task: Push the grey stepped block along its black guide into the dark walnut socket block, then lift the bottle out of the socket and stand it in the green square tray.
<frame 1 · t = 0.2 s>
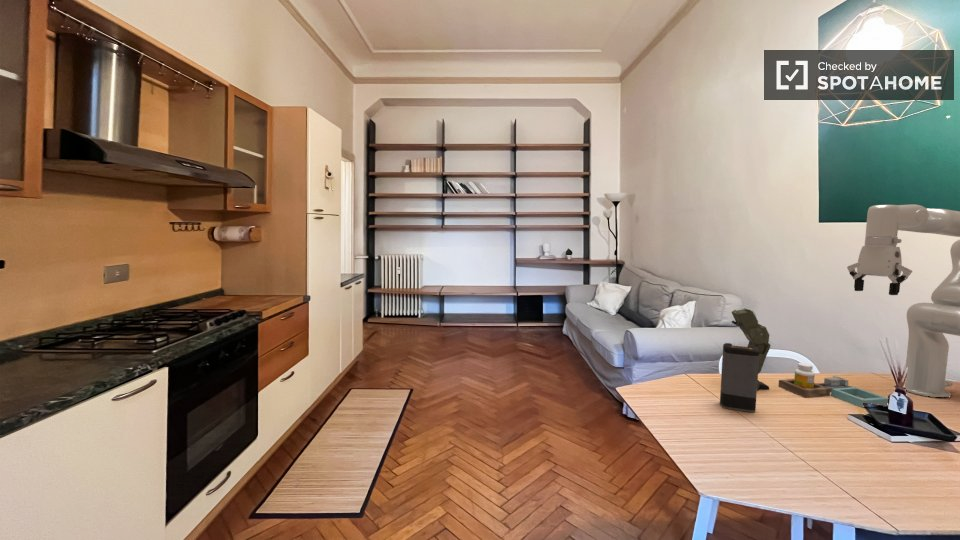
hand: (875, 292, 134), 36 cm above the table, tool pointing down, fingers open, 9 cm apart
mechanical leg: (747, 386, 145), on the table
supplement bottle: (803, 391, 141), resting in socket block
green square tray: (858, 400, 133), on the table
socket block: (803, 391, 141), on the table
electronic device: (737, 407, 127), on the table
grey stepped block: (834, 382, 143), point 2 cm above the table, slide at 0.0 cm
key guide: (830, 389, 143), on the table
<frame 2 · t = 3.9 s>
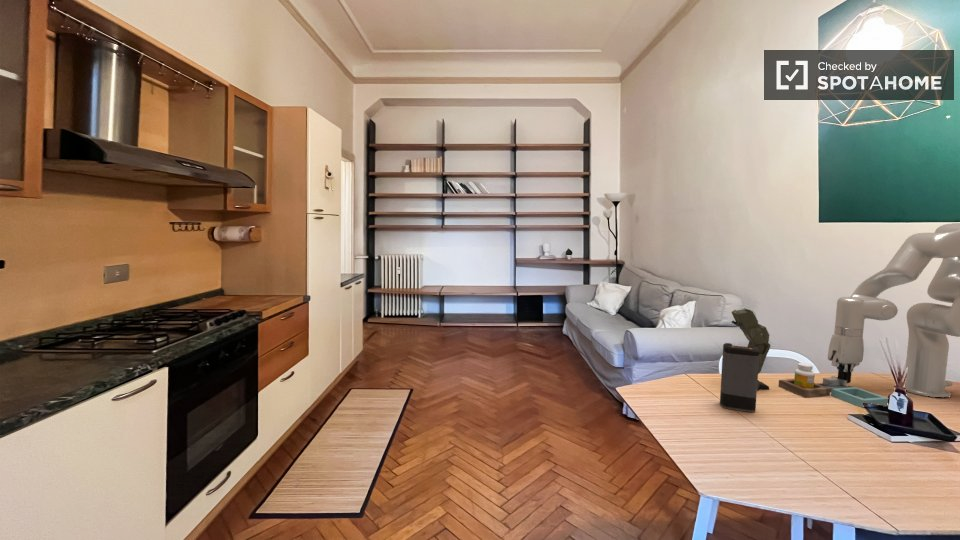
hand: (843, 381, 143), 2 cm above the table, tool pointing down, fingers closed
grey stepped block: (833, 382, 143), point 2 cm above the table, slide at 0.6 cm, touching gripper
everything else where it was.
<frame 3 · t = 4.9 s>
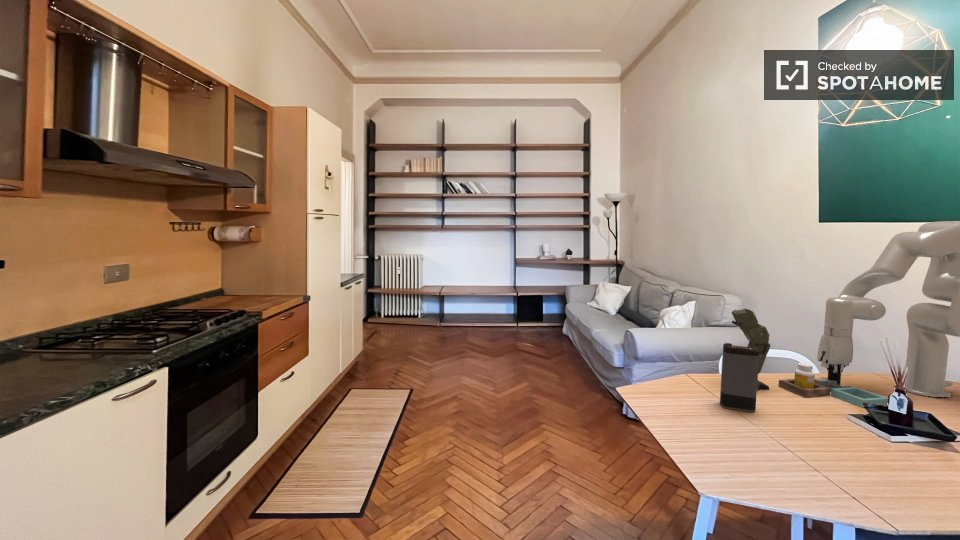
hand: (833, 382, 143), 2 cm above the table, tool pointing down, fingers closed
grey stepped block: (823, 383, 142), point 2 cm above the table, slide at 4.9 cm, touching gripper
everything else where it was.
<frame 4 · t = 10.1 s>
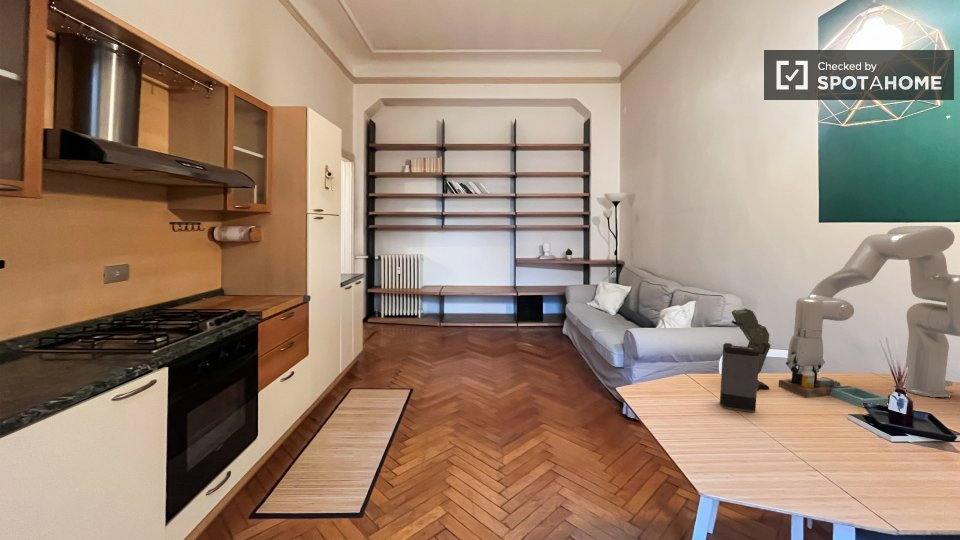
hand: (803, 382, 140), 3 cm above the table, tool pointing down, fingers closed on supplement bottle, 5 cm apart
supplement bottle: (803, 391, 141), resting in socket block, touching gripper
grey stepped block: (823, 383, 142), point 2 cm above the table, slide at 4.7 cm
everything else where it was.
when the fingers open (4 cm above the table, at t = 16.2 s): supplement bottle drops 1 cm, resting in green square tray.
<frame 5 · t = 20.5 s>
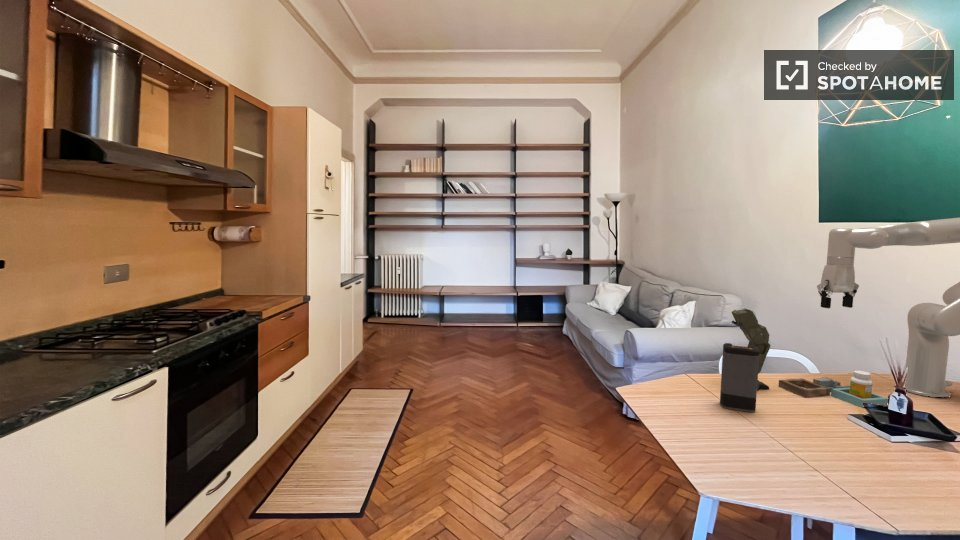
hand: (836, 307, 148), 28 cm above the table, tool pointing down, fingers open, 9 cm apart
supplement bottle: (859, 401, 133), resting in green square tray
everything else where it was.
at the end: grey stepped block slide at 4.7 cm; supplement bottle 0.3 cm off-centre on the green square tray, point 0.0 cm above the green square tray's base; supplement bottle tilted 0° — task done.
